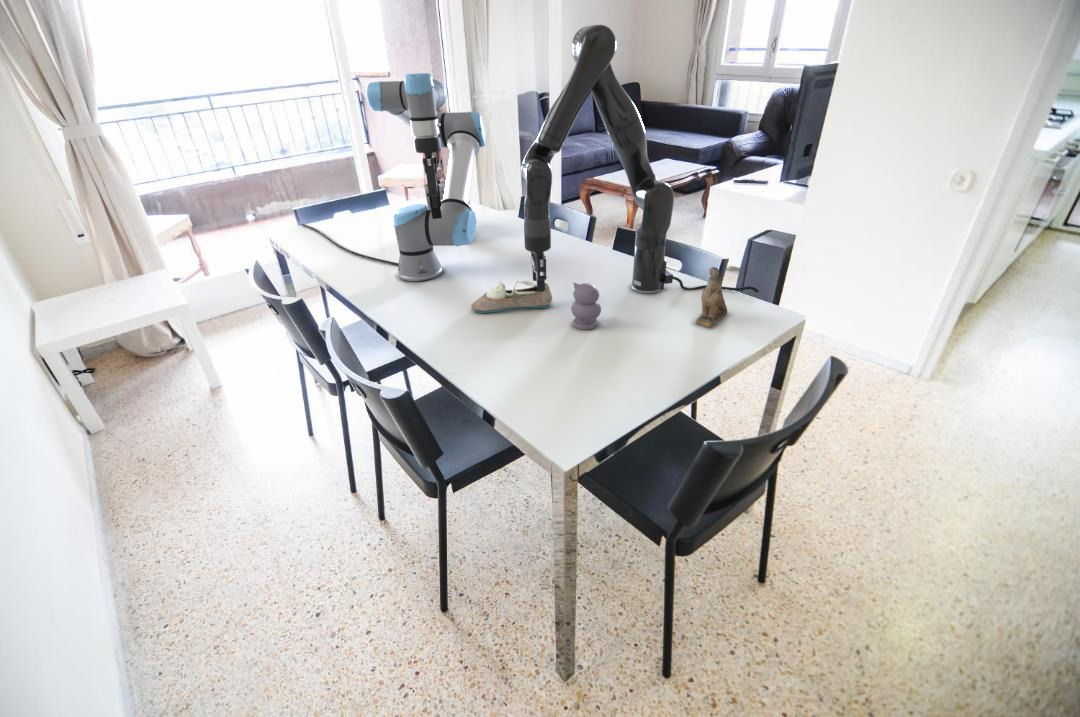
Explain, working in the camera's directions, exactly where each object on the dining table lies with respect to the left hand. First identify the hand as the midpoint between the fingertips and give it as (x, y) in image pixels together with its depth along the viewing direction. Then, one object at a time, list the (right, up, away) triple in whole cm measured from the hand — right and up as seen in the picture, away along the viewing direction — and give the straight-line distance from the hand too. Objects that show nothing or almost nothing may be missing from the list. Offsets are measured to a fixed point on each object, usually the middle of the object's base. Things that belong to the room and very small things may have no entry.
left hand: (437, 212), depth 151 cm
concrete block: (-6, +9, +63) cm, 64 cm away
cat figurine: (+44, -35, -12) cm, 58 cm away
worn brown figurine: (+80, -33, -11) cm, 87 cm away
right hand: (+31, -23, -2) cm, 38 cm away
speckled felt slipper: (+23, -29, 0) cm, 37 cm away
